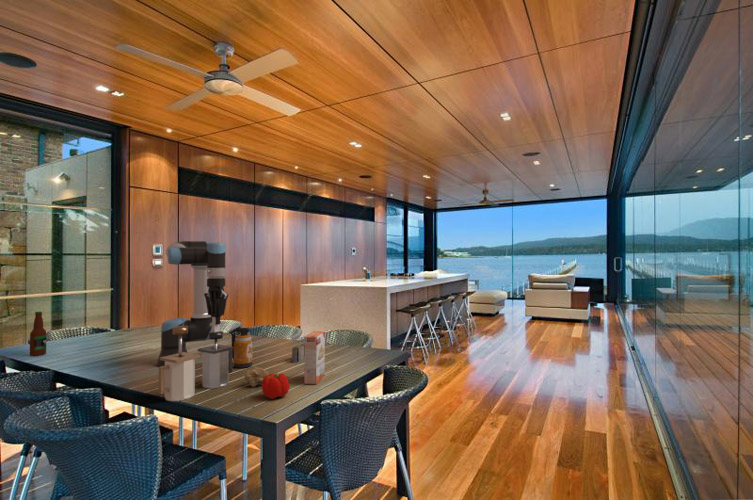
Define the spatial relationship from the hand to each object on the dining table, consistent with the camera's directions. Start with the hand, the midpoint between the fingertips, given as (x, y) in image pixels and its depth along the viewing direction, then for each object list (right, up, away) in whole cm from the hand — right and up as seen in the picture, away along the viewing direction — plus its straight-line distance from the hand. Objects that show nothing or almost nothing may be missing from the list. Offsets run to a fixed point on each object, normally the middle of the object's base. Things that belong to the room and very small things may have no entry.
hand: (215, 331), depth 174 cm
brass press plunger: (-8, -11, -15) cm, 20 cm away
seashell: (+19, -23, 0) cm, 30 cm away
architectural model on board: (+28, -25, +42) cm, 56 cm away
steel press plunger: (0, -16, 0) cm, 16 cm away
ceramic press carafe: (-9, -23, -17) cm, 30 cm away
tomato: (+30, -23, -16) cm, 41 cm away
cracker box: (+42, -23, +6) cm, 49 cm away
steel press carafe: (+1, -23, +1) cm, 23 cm away
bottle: (-126, -25, +57) cm, 140 cm away
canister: (+1, -24, +30) cm, 38 cm away
